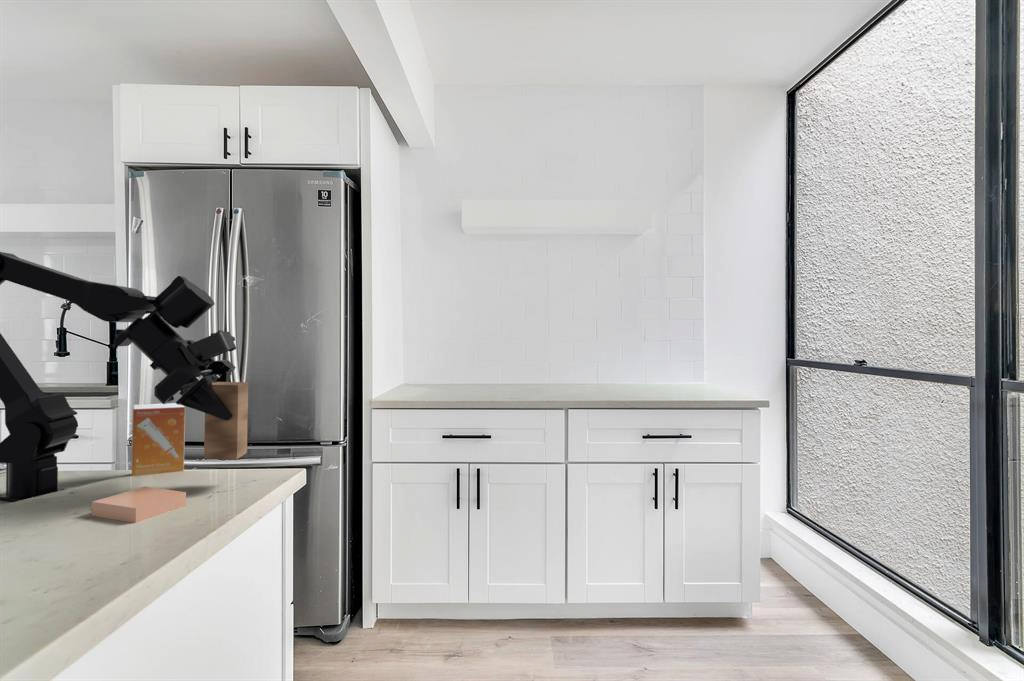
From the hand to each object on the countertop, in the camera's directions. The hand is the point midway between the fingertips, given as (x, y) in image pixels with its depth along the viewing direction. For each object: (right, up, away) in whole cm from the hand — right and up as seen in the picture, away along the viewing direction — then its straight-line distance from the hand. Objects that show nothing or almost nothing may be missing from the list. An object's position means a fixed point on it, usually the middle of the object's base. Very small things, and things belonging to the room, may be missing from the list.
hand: (235, 415), depth 95 cm
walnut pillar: (-2, -7, 0) cm, 7 cm away
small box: (-19, -12, +10) cm, 25 cm away
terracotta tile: (-7, -12, -13) cm, 19 cm away
